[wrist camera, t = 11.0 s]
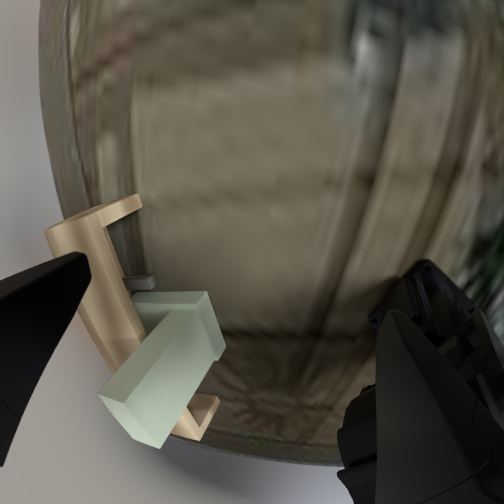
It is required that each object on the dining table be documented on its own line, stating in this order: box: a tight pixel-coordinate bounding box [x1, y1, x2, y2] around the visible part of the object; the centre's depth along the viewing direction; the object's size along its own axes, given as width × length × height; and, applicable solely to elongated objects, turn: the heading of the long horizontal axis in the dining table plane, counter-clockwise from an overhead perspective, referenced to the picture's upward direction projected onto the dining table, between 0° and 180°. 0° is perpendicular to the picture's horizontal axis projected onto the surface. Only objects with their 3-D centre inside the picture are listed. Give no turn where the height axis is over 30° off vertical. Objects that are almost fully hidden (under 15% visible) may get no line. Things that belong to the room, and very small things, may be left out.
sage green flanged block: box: [97, 291, 226, 449], centre depth 21 cm, size 8×6×12 cm
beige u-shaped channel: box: [44, 193, 220, 441], centre depth 25 cm, size 7×24×6 cm, turn 13°
